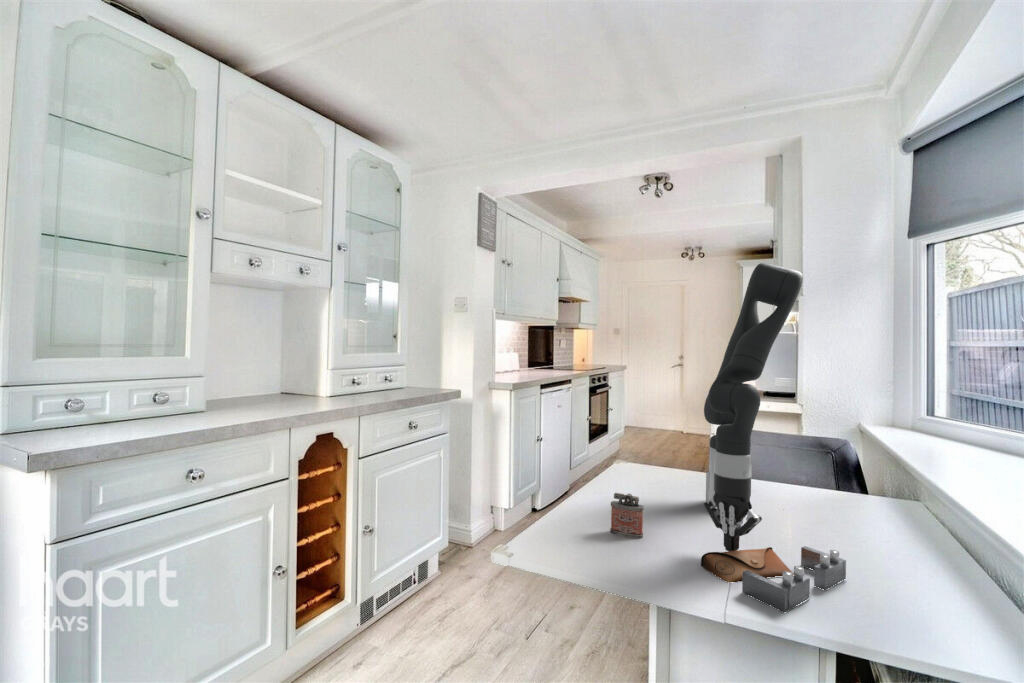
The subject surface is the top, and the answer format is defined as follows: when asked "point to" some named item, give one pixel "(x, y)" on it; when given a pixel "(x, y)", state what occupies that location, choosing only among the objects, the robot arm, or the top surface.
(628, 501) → the lighter
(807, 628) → the top surface
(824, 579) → the bracket
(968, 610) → the top surface
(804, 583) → the bracket
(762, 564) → the sunglasses case
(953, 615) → the top surface
